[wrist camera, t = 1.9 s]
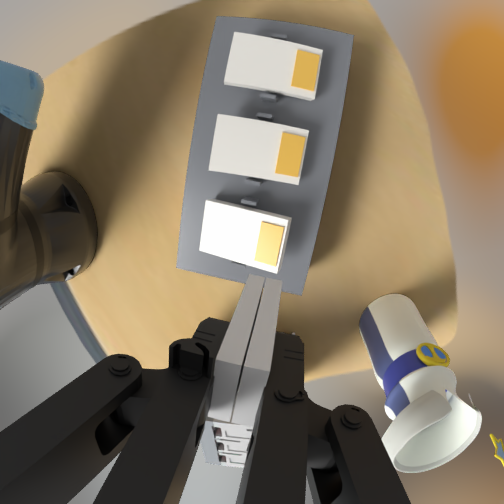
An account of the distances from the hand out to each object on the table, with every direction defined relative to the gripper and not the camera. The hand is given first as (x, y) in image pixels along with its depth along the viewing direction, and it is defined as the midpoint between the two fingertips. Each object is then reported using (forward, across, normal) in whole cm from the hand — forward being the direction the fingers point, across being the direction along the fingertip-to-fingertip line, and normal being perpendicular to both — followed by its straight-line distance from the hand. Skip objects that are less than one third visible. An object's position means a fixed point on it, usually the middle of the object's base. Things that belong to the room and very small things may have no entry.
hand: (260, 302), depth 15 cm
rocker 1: (+11, -3, +14) cm, 18 cm away
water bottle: (+19, +15, -9) cm, 26 cm away
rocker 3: (+11, -3, 0) cm, 11 cm away
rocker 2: (+11, -3, +7) cm, 13 cm away
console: (+18, -3, +7) cm, 20 cm away
